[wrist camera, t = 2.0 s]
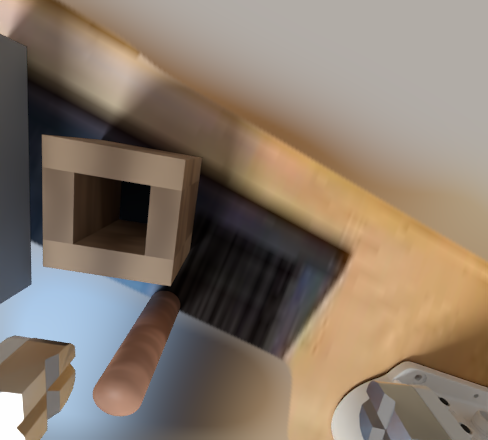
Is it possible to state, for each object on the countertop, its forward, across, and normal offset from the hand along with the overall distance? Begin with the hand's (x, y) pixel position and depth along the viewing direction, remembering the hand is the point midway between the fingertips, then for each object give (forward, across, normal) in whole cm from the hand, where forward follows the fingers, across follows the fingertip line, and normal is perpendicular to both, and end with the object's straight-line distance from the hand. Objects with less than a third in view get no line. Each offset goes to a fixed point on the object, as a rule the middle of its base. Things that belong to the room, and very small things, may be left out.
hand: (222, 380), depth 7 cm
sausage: (+21, -7, -12) cm, 25 cm away
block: (+22, -9, 0) cm, 23 cm away
